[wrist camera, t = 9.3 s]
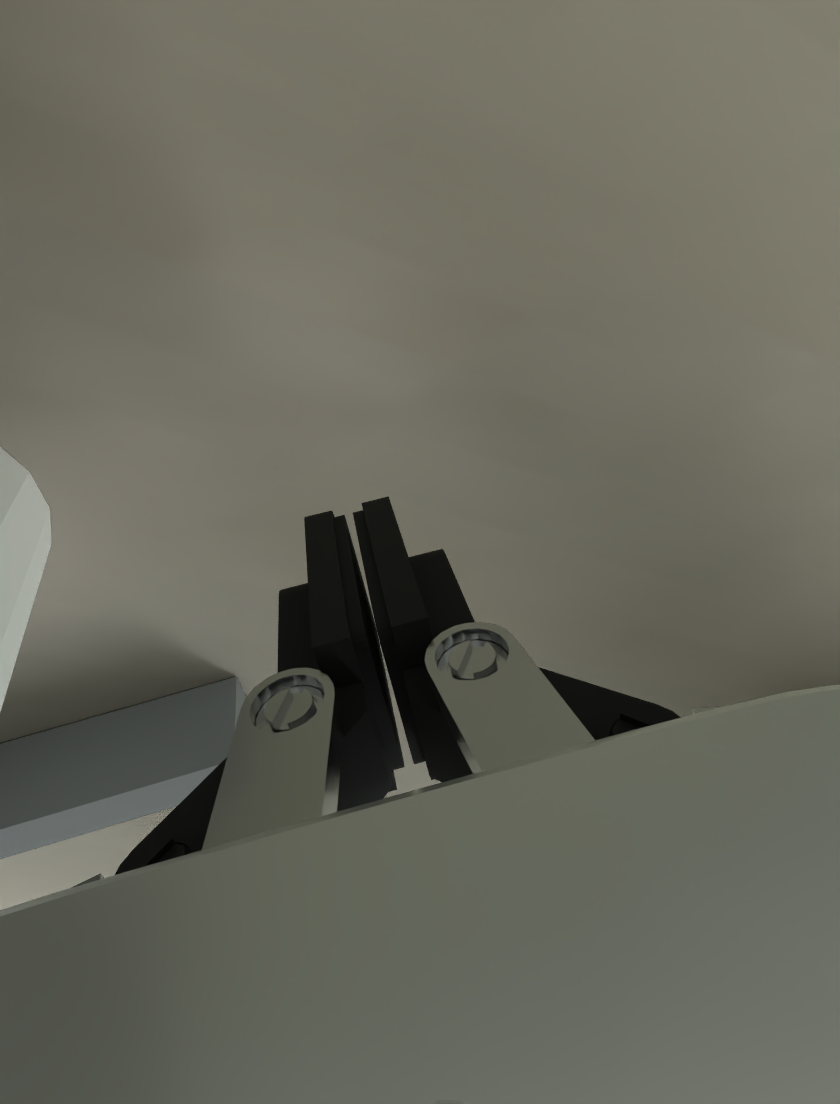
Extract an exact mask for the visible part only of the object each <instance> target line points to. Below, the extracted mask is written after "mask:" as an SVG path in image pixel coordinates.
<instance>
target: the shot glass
mask: <svg viewBox="0 0 840 1104" xmlns="http://www.w3.org/2000/svg"><path fill="white" fill-rule="evenodd" d="M50 547H51V523H50V508H49V506H48V505H47V503H46V501H45V499H44V497H43V495H42V494H41V492H40V490H39V488H38V486H37V485H36V483H35V481H34V479H33V477H32V476H31V474H30V472H29V471H28V470H27V469H25V468H24V467H23V466H22V465H21V464H20V463H19V462H17V461H16V460H15V459H14V458H13V457H12V456H10V455H9V454H8V453H7V452H6V451H5V450H4V449H2V448H1V447H0V712H1V708H2V705H3V702H4V699H5V695H6V692H7V689H8V685H9V682H10V679H11V676H12V672H13V669H14V666H15V662H16V659H17V656H18V652H19V649H20V646H21V643H22V639H23V636H24V633H25V629H26V626H27V623H28V620H29V616H30V613H31V610H32V606H33V603H34V600H35V597H36V593H37V590H38V587H39V583H40V580H41V577H42V573H43V570H44V567H45V564H46V560H47V557H48V554H49V550H50Z"/></svg>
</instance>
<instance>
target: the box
mask: <svg viewBox="0 0 840 1104" xmlns="http://www.w3.org/2000/svg"><path fill="white" fill-rule="evenodd" d="M245 698H246V695H245V693H244V691H243V689H242V687H241V685H240V683H239V681H238V678H237V676H236V677H233V678H229V679H226V680H222V681H219V682H215V683H212V684H208V685H205V686H201V687H198V688H194V689H191V690H187V691H184V692H180V693H177V694H173V695H170V696H166V697H163V698H159V699H156V700H152V701H149V702H145V703H141V704H138V705H134V706H131V707H127V708H124V709H120V710H117V711H113V712H110V713H106V714H103V715H99V716H96V717H92V718H89V719H85V720H82V721H78V722H75V723H71V724H68V725H64V726H61V727H57V728H54V729H50V730H47V731H43V732H39V733H36V734H32V735H29V736H25V737H22V738H18V739H15V740H11V741H8V742H4V743H1V744H0V859H2V858H6V857H9V856H12V855H16V854H19V853H22V852H26V851H29V850H32V849H36V848H39V847H42V846H46V845H49V844H52V843H55V842H59V841H62V840H65V839H69V838H72V837H75V836H79V835H82V834H85V833H89V832H92V831H95V830H99V829H102V828H105V827H109V826H112V825H115V824H119V823H122V822H125V821H128V820H132V819H135V818H138V817H142V816H145V815H148V814H152V813H155V812H158V811H162V810H165V809H168V808H172V807H175V806H178V805H179V804H180V803H181V802H182V801H183V800H184V799H185V798H186V797H187V796H188V795H189V794H190V793H191V792H192V791H193V790H194V789H195V788H196V787H197V786H198V785H199V784H200V783H201V782H202V781H203V780H204V779H205V778H206V777H207V776H208V775H209V774H210V773H211V772H212V771H213V770H214V769H215V768H216V767H217V766H218V765H219V764H220V763H221V762H222V761H223V760H224V759H225V758H226V757H227V756H228V753H229V749H230V745H231V742H232V738H233V735H234V731H235V727H236V724H237V720H238V716H239V713H240V709H241V707H242V705H243V703H244V701H245Z"/></svg>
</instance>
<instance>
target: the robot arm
mask: <svg viewBox="0 0 840 1104" xmlns="http://www.w3.org/2000/svg"><path fill="white" fill-rule="evenodd" d="M362 506H363V510H362V511H358V512H354V513H353V516H354V521H355V526H356V531H357V536H358V541H359V546H360V550H361V555H362V560H363V565H364V570H365V575H366V580H367V585H368V590H369V594H370V599H371V604H372V609H373V614H374V618H373V615H372V611H371V608H370V604H369V601H368V597H367V593H366V590H365V586H364V583H363V579H362V575H361V572H360V568H359V565H358V561H357V558H356V554H355V550H354V547H353V543H352V540H351V536H350V533H349V529H348V525H347V522H346V518H345V515H342V516H338V517H334V515H333V512H332V511H328V512H324V513H320V514H316V515H312V516H308V517H305V519H304V520H305V538H306V555H307V573H308V583H306V584H302V585H298V586H294V587H290V588H286V589H282V590H280V591H279V622H278V673H277V674H275V675H273V676H271V677H269V678H266V679H265V680H264V681H263V682H261V683H260V684H259V685H257V686H256V687H255V688H254V689H253V690H252V691H251V692H250V694H249V695H248V696H247V697H246V698H245V701H244V703H243V705H242V707H241V709H240V713H239V716H238V720H237V724H236V727H235V731H234V735H233V738H232V742H231V745H230V749H229V753H228V756H227V757H226V758H225V759H224V760H223V761H222V762H221V763H220V764H219V765H218V766H217V767H216V768H215V769H214V770H213V771H212V772H211V773H210V774H209V775H208V776H207V777H206V778H205V779H204V780H203V781H202V782H201V783H200V784H199V785H198V786H197V787H196V788H195V789H194V790H193V791H192V792H191V793H190V794H189V795H188V796H187V797H186V798H185V799H184V800H183V801H182V802H181V803H180V804H179V805H178V806H177V807H176V808H175V809H174V810H173V811H172V812H171V813H170V814H169V815H168V816H167V817H166V818H165V819H164V820H163V821H162V822H161V823H160V824H159V825H158V826H157V827H156V828H155V829H154V830H153V831H152V832H151V833H149V834H148V835H147V836H146V837H145V838H144V839H143V840H142V841H141V842H140V843H139V844H138V845H137V846H136V847H135V848H134V849H133V850H132V852H131V853H130V854H129V855H128V856H127V858H126V859H125V860H124V861H123V862H122V864H121V865H120V866H119V868H118V870H117V872H116V874H115V875H114V876H110V877H107V878H104V877H103V876H102V875H101V874H98V875H96V876H94V877H92V878H90V879H88V880H86V881H84V882H82V883H80V884H78V885H76V886H74V887H72V888H70V889H66V890H63V891H59V892H56V893H53V894H50V895H47V896H43V897H40V898H37V899H34V900H31V901H28V902H25V903H22V904H19V905H15V906H12V907H9V908H6V909H3V910H0V1104H840V685H829V686H823V687H816V688H810V689H803V690H796V691H789V692H784V693H780V694H776V695H771V696H767V697H763V698H759V699H754V700H750V701H746V702H741V703H737V704H732V705H728V706H717V707H704V708H693V713H692V715H689V716H685V717H679V716H678V715H677V714H676V713H674V712H673V711H671V710H668V709H666V708H664V707H662V706H659V705H657V704H654V703H650V702H647V701H644V700H641V699H638V698H635V697H631V696H628V695H625V694H622V693H619V692H615V691H612V690H609V689H606V688H603V687H599V686H596V685H593V684H590V683H587V682H584V681H580V680H577V679H574V678H571V677H568V676H564V675H561V674H558V673H555V672H552V671H548V670H545V669H542V668H539V667H538V666H537V665H536V664H535V663H534V661H533V660H532V659H531V658H530V656H529V655H528V654H527V652H526V651H525V650H524V649H523V647H522V646H521V645H520V643H519V642H518V641H517V640H516V638H515V637H514V636H513V635H512V634H511V633H509V632H508V631H507V630H506V629H504V628H502V627H499V626H497V625H495V624H490V623H484V622H474V619H473V617H472V615H471V612H470V610H469V608H468V605H467V603H466V601H465V598H464V596H463V594H462V591H461V589H460V587H459V585H458V582H457V580H456V578H455V575H454V573H453V571H452V568H451V566H450V564H449V561H448V559H447V557H446V554H445V552H444V550H443V549H440V550H436V551H432V552H428V553H424V554H420V555H416V556H412V557H408V555H407V552H406V549H405V546H404V542H403V539H402V536H401V533H400V530H399V527H398V524H397V521H396V518H395V515H394V512H393V509H392V506H391V503H390V500H389V497H385V498H381V499H377V500H372V501H368V502H364V503H362ZM374 619H375V622H374ZM375 624H376V626H375ZM376 628H377V630H376ZM377 632H378V634H377ZM378 636H379V639H378ZM379 640H380V644H381V648H382V651H383V655H384V658H385V662H386V665H387V669H388V673H389V676H390V680H391V683H392V687H393V691H394V694H395V698H396V701H397V705H398V708H399V712H400V716H401V719H402V723H403V726H404V730H405V734H406V737H407V741H408V744H409V748H410V751H411V755H412V759H413V762H414V764H417V763H420V762H424V761H426V764H427V768H428V772H429V775H430V777H431V780H433V779H436V780H438V781H441V782H442V783H439V784H435V785H431V786H428V787H424V788H421V789H417V790H413V791H410V792H406V793H403V794H399V795H395V796H392V797H388V798H385V799H383V798H384V797H385V795H386V794H387V793H388V792H390V791H394V790H397V788H396V782H395V777H394V771H393V770H395V769H399V768H402V767H404V761H403V756H402V751H401V746H400V742H399V737H398V732H397V727H396V722H395V717H394V712H393V707H392V702H391V697H390V693H389V688H388V683H387V678H386V673H385V668H384V663H383V658H382V653H381V648H380V644H379Z"/></svg>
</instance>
